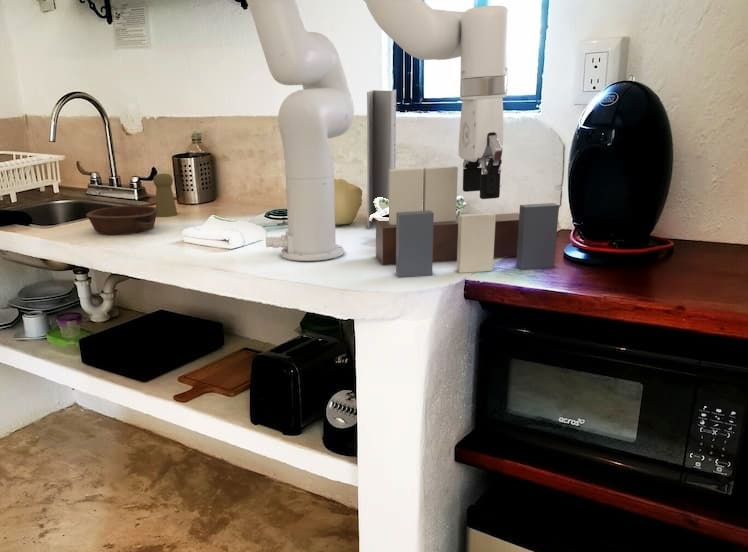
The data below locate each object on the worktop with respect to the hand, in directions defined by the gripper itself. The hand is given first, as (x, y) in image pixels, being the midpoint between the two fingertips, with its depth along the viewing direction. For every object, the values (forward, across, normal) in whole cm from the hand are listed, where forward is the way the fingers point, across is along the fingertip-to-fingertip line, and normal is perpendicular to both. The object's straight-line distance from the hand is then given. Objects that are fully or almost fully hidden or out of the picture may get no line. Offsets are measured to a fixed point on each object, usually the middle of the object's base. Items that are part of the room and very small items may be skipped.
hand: (480, 194), depth 133 cm
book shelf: (+13, -12, -2) cm, 18 cm away
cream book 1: (+6, -12, -10) cm, 17 cm away
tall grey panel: (+13, -51, -8) cm, 54 cm away
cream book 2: (+6, -12, -4) cm, 14 cm away
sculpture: (+13, -53, -18) cm, 58 cm away
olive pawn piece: (+12, -83, -62) cm, 104 cm away
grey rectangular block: (+14, 0, +10) cm, 17 cm away
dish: (+12, -62, -70) cm, 95 cm away
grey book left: (+13, 0, -12) cm, 18 cm away
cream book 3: (+13, 0, 0) cm, 13 cm away
